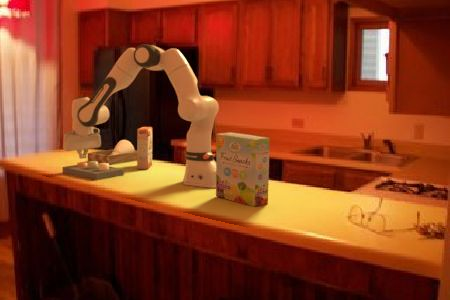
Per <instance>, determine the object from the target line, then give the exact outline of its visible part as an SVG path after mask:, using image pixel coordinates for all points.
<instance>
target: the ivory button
mask: <svg viewBox="0 0 450 300" xmlns="http://www.w3.org/2000/svg"><path fill="white" fill-rule="evenodd" d="M109 167H110V165H109V163H99V164H98V171H102V172H104V171H109Z"/></svg>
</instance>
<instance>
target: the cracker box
mask: <svg viewBox="0 0 450 300" xmlns="http://www.w3.org/2000/svg"><path fill="white" fill-rule="evenodd" d="M136 130H137V136H136V138H137V139H136V140H137V141H136V142H137V146H136V147H137V148H136V150H137V162H136V163H137V164H136V167H137V168H136V169H137V170H149V168H150V167H151V166H153V127H152V126H142V127H140V128H139V127H138V128H137V129H136Z"/></svg>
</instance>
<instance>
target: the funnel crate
mask: <svg viewBox="0 0 450 300" xmlns="http://www.w3.org/2000/svg"><path fill="white" fill-rule="evenodd" d="M134 150H135V151H134V152H131V153H124V154H117V155H110V154H111V153H112V152H113V151H114V149H113V148H112V149H108V150H100V151H92V152H87V162H89V161H98V164H99V163H109V166H113V165H119V164H124V163H130V162H136V161H137V149H134ZM108 155H110V156H108Z"/></svg>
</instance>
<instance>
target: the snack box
mask: <svg viewBox="0 0 450 300" xmlns="http://www.w3.org/2000/svg"><path fill="white" fill-rule="evenodd" d="M215 139H216V142H215V143H216V144H215V145H216V146H215V149H216V150H215V151H216V153H215V159H216V160H215V162H216V188H215V196H216V197H217V198H218V197H219V198H221V199H225V200H228V201H231V202H236V203H239V204H242V205H246V206H250V207H253V208H255V207H260V206H263V205H268V204H269V182H270V181H269V179H270V177H269V175H270V171H269V170H270V143H271V142H270V141H271V138H270V137H266V136H259V135H251V134H246V133H239V132H238V133H237V132H230V131H229V132H221V133H220V132H219V133H216V136H215Z"/></svg>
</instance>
